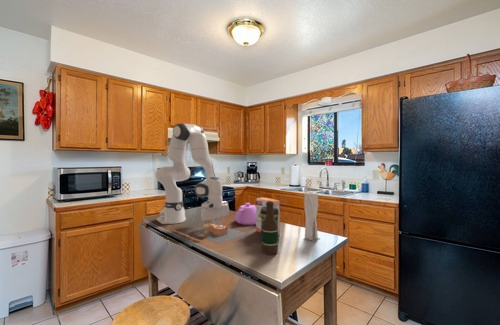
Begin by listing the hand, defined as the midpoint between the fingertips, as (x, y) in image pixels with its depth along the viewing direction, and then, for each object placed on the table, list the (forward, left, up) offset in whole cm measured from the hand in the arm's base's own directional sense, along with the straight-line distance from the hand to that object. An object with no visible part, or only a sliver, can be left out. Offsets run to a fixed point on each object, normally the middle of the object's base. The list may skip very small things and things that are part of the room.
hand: (215, 224), depth 152 cm
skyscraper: (+53, +25, -3) cm, 58 cm away
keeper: (+8, -14, -3) cm, 16 cm away
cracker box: (+31, +14, -3) cm, 34 cm away
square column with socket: (+7, -6, -2) cm, 10 cm away
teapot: (+8, +24, -3) cm, 25 cm away
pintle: (+12, -6, -3) cm, 14 cm away
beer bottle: (+48, -5, -3) cm, 48 cm away
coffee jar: (+39, +6, -3) cm, 40 cm away
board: (+11, -6, -3) cm, 13 cm away
